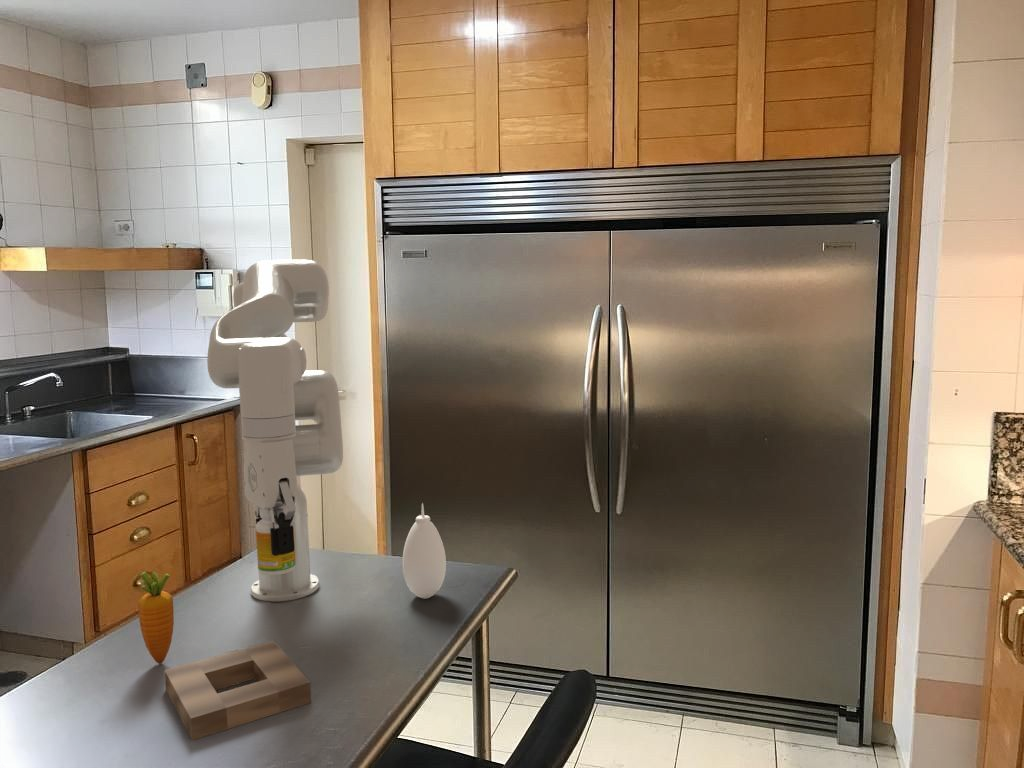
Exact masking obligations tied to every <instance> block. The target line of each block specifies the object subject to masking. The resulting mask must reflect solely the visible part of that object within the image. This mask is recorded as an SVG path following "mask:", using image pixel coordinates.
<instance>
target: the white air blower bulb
mask: <svg viewBox="0 0 1024 768" xmlns="http://www.w3.org/2000/svg"><path fill="white" fill-rule="evenodd" d="M420 509H421V510H420V511H421V514H419V515H418V516H416V518H415V522H414V523H413V524H412V526H411V528H410V530H409V531H408V534H407V537H406V539H405V542H404V547H403V553H402V574H403V579H404V581H405V583H406V585H407V588H408V589H409V590H410V592H411V593H412V594H415V596H416V597H417V598H420V599H430V598H431V597H433V596H434V595H435V594H436V593H437V592H438V591H440V589H441V587H442V585H443V583H444V581H445V578H446V577H445V576H446V571H447V558H446V550H445V546H444V543H443V541H442V537H441V536H440V533H439V531H438V529H437V527H436V526H435V524H434V523H433V522H432V521H431V517H430V516H429V515H425V508H424V503H423V502H422V503H421V508H420Z"/></svg>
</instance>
